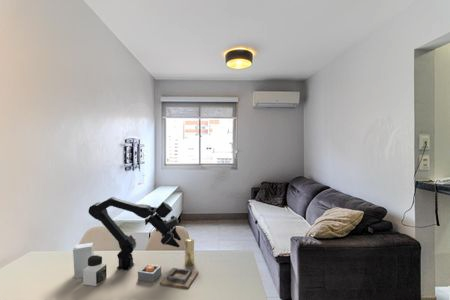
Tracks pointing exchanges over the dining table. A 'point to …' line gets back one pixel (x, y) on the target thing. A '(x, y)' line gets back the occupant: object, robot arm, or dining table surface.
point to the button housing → (149, 273)
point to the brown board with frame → (179, 278)
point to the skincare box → (81, 258)
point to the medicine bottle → (94, 271)
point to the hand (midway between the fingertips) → (179, 243)
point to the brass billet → (189, 252)
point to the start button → (150, 268)
